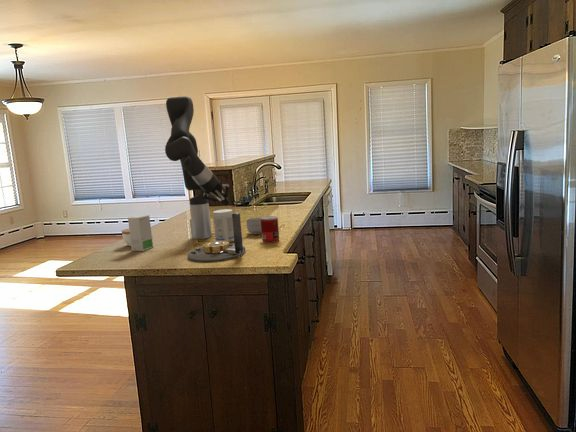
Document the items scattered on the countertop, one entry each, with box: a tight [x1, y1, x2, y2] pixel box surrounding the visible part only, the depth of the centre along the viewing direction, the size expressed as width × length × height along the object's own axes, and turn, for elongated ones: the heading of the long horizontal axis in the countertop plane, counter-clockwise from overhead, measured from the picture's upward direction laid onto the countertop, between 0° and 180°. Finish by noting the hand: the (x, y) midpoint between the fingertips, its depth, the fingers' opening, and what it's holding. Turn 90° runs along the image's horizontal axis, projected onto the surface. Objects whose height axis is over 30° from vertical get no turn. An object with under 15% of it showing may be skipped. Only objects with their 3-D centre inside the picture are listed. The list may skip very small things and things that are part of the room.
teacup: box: [245, 216, 263, 235], centre depth 232 cm, size 14×11×8 cm
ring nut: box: [202, 212, 244, 254], centre depth 190 cm, size 20×11×16 cm, turn 53°
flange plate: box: [187, 241, 246, 263], centre depth 194 cm, size 24×24×5 cm
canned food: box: [261, 215, 280, 243], centre depth 213 cm, size 8×8×11 cm
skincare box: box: [127, 214, 154, 252], centre depth 213 cm, size 8×7×16 cm
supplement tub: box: [212, 208, 234, 243], centre depth 219 cm, size 10×10×15 cm
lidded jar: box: [121, 228, 131, 247], centre depth 224 cm, size 11×11×9 cm
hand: (227, 203), depth 197 cm, fingers closed
